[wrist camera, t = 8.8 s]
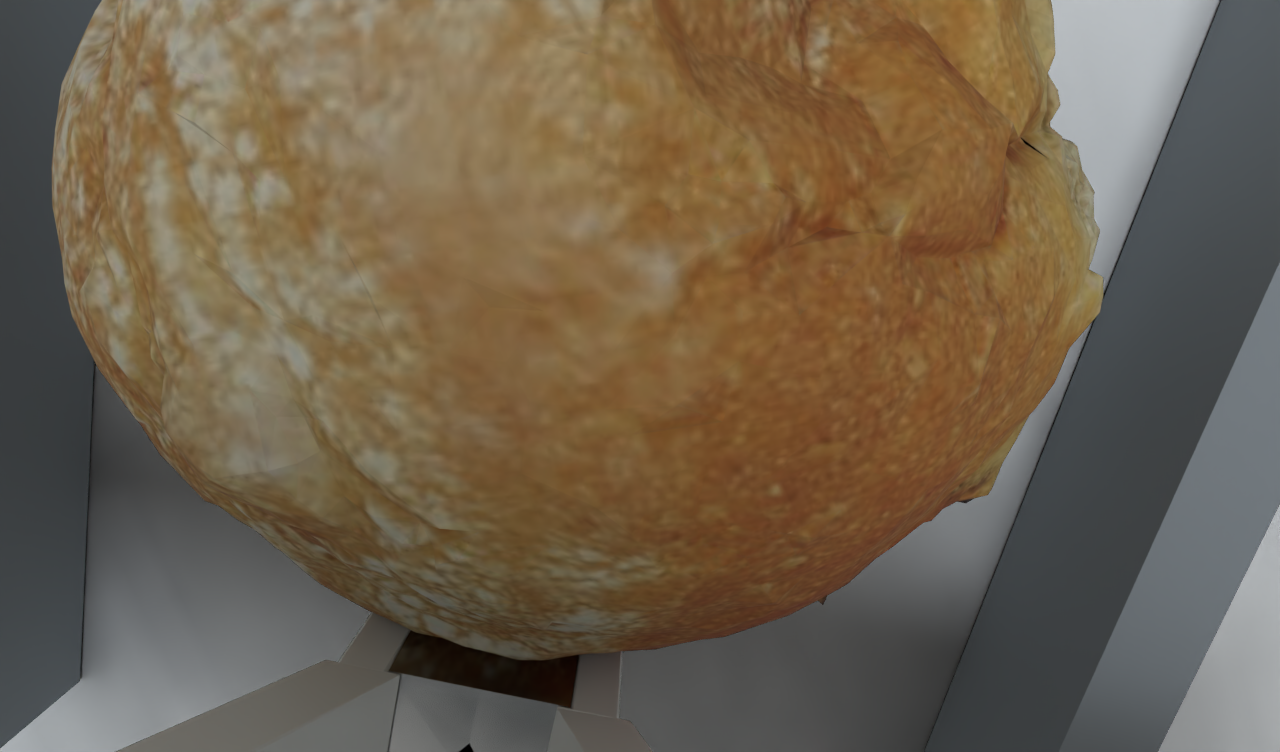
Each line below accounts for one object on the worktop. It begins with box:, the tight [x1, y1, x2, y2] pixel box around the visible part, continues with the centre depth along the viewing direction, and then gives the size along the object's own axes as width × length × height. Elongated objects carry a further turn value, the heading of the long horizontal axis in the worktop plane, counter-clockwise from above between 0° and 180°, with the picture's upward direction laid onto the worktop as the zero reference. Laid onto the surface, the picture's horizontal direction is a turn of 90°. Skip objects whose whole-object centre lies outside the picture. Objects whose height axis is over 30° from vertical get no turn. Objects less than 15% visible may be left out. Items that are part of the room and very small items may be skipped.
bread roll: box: [52, 0, 1103, 660], centre depth 8 cm, size 10×10×8 cm
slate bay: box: [0, 0, 1280, 752], centre depth 8 cm, size 16×21×2 cm
